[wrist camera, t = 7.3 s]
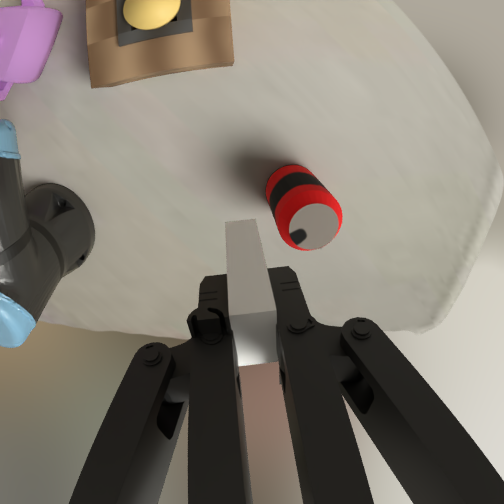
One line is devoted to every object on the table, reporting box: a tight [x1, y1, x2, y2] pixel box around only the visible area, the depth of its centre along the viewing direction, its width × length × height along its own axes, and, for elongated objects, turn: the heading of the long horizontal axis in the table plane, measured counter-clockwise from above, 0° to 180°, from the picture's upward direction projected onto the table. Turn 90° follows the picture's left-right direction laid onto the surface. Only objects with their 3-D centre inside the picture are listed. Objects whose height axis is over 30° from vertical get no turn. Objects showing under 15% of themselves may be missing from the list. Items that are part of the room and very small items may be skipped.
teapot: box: [0, 0, 63, 101], centre depth 20 cm, size 18×10×10 cm, turn 154°
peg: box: [123, 0, 181, 30], centre depth 24 cm, size 6×6×8 cm
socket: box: [86, 0, 234, 88], centre depth 24 cm, size 16×16×8 cm
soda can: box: [266, 165, 342, 251], centre depth 37 cm, size 8×8×12 cm
